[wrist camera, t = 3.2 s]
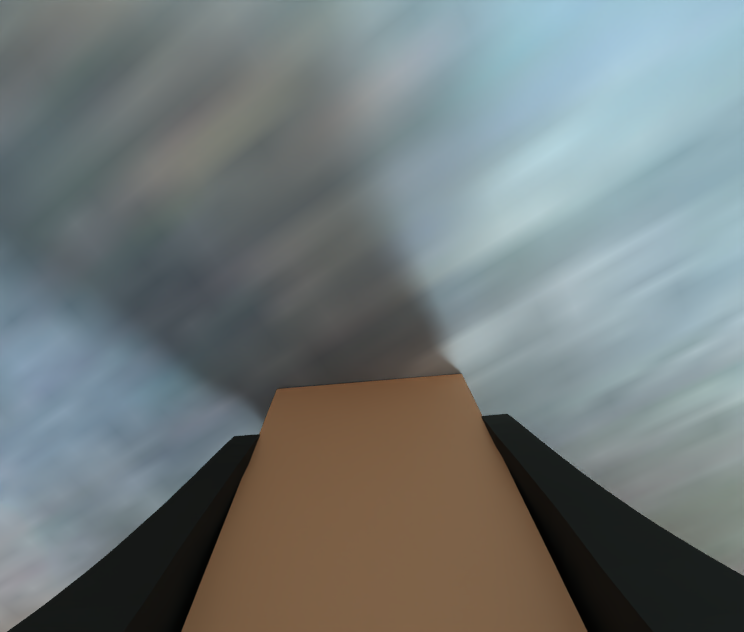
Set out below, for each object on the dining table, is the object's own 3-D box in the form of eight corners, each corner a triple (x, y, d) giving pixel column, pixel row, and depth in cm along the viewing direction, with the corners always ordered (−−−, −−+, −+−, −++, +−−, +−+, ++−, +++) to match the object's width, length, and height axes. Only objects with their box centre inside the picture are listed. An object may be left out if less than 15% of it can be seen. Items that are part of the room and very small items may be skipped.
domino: (277, 388, 11) (107, 821, 4) (461, 373, 11) (658, 778, 4) (288, 449, 11) (165, 909, 4) (461, 435, 11) (626, 875, 4)
